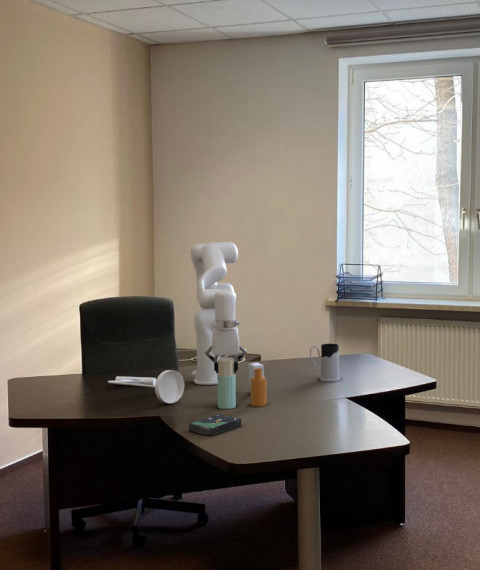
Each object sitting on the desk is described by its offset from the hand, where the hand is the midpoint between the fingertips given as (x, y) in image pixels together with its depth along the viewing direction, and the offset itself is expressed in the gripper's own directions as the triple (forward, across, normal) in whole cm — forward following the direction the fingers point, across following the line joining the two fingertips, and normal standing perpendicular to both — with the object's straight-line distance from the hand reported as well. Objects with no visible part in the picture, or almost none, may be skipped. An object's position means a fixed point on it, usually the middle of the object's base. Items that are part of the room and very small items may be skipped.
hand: (226, 372), depth 273 cm
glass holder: (+13, -42, -44) cm, 63 cm away
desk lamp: (+13, +32, -27) cm, 44 cm away
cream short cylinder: (+1, 0, 0) cm, 1 cm away
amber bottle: (+13, -12, -2) cm, 18 cm away
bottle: (+13, 0, 0) cm, 13 cm away
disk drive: (+13, +4, +28) cm, 32 cm away
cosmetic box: (+13, -12, -19) cm, 26 cm away
